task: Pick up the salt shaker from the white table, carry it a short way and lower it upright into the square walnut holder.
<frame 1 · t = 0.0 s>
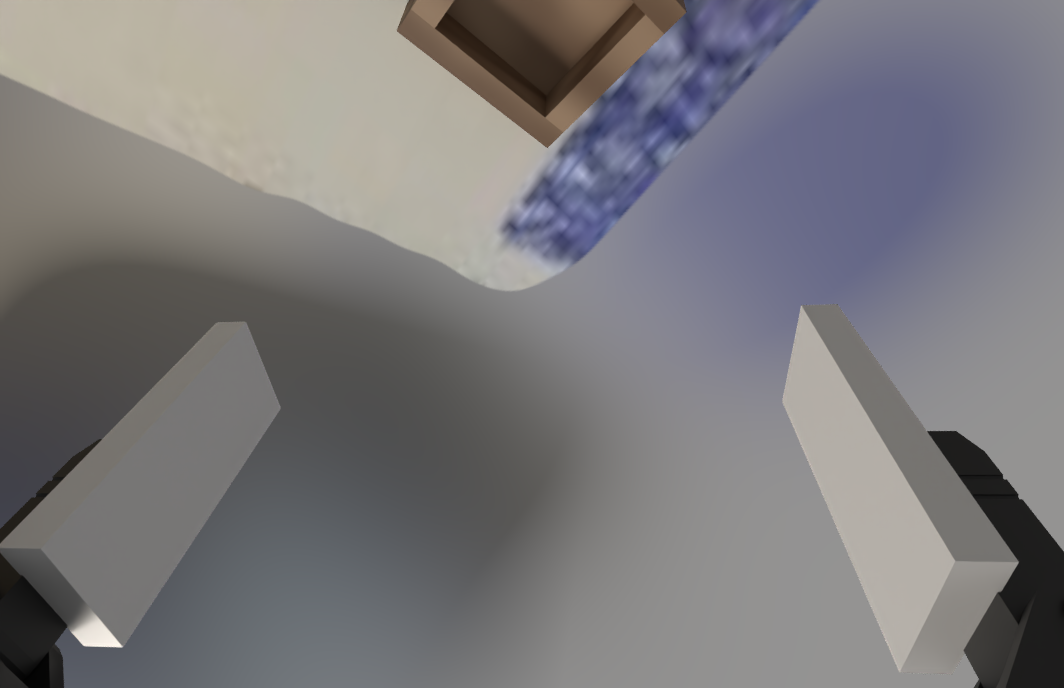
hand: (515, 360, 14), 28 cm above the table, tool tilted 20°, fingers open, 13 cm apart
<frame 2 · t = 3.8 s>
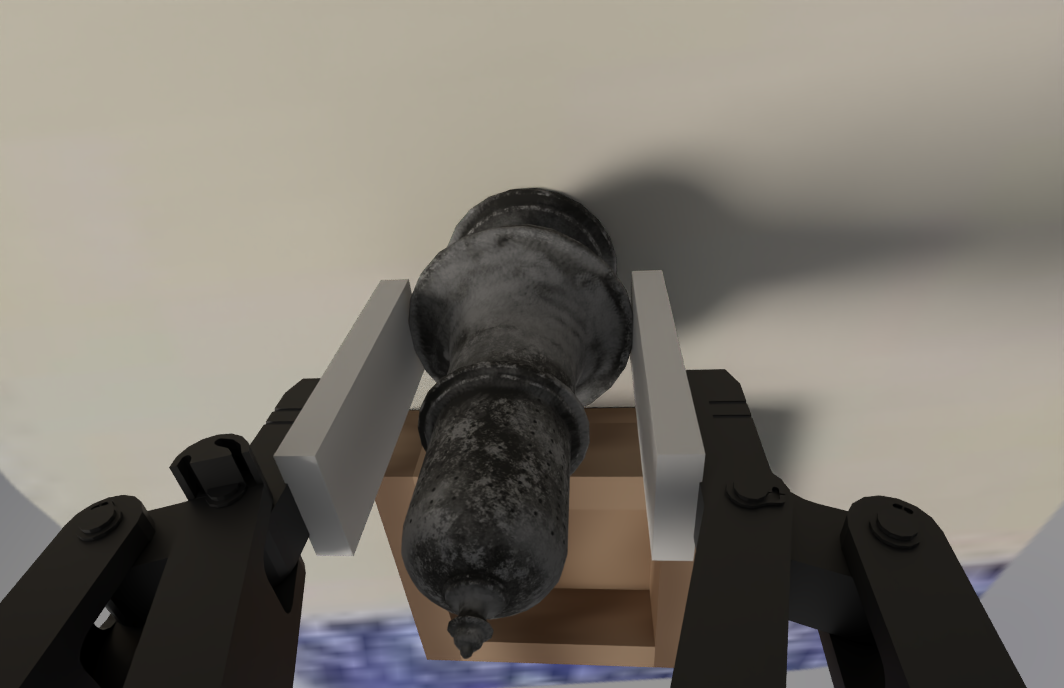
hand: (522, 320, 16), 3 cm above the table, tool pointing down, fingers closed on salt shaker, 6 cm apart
walnut holder: (551, 511, 24), on the table
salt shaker: (531, 268, 18), on the table, touching gripper
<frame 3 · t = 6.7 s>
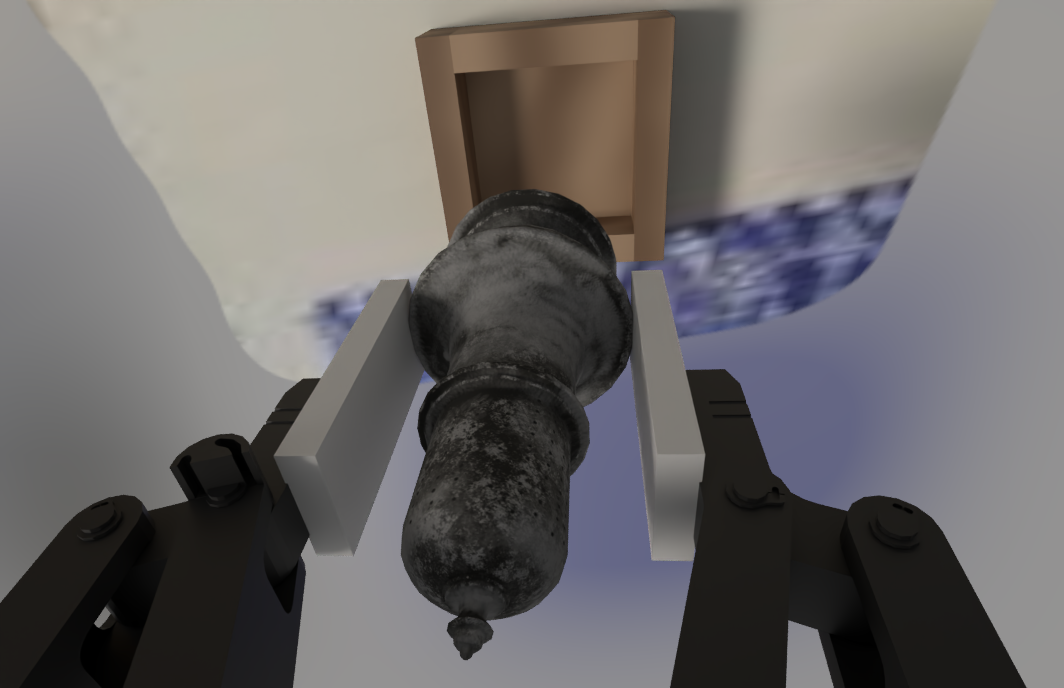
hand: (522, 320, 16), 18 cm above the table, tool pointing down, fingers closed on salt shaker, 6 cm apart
walnut holder: (553, 139, 31), on the table
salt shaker: (531, 269, 18), point 15 cm above the table, touching gripper
when the fingers open (5 cm above the table, at t = 9.6 s): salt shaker drops 1 cm, resting on walnut holder.
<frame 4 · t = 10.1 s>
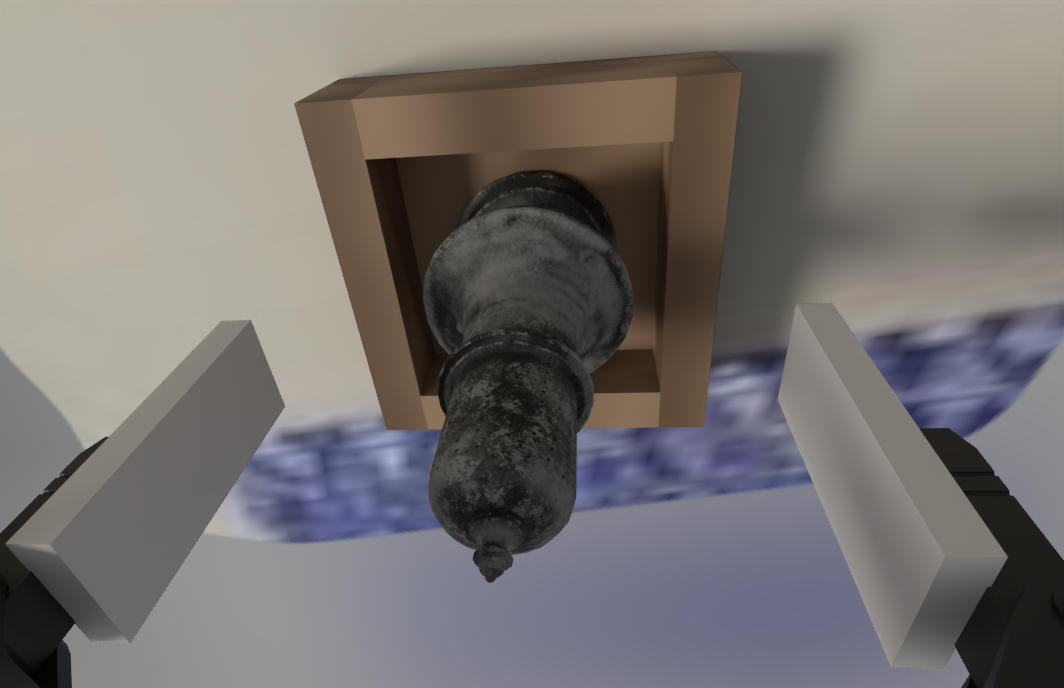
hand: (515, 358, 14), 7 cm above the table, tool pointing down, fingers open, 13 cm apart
walnut holder: (535, 241, 20), on the table
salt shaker: (535, 247, 20), point 1 cm above the table, touching walnut holder
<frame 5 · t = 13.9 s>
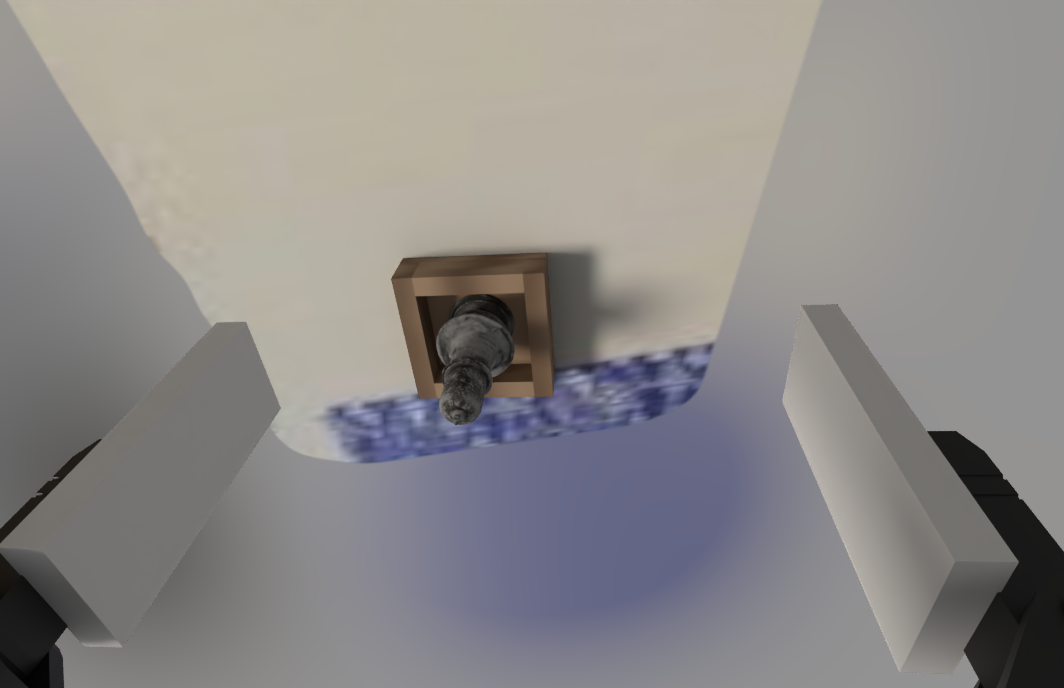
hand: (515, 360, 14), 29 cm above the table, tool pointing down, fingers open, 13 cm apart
walnut holder: (482, 318, 48), on the table
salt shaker: (482, 321, 47), point 1 cm above the table, touching walnut holder
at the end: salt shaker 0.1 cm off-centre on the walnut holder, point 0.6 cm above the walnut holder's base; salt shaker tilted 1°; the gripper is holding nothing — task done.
